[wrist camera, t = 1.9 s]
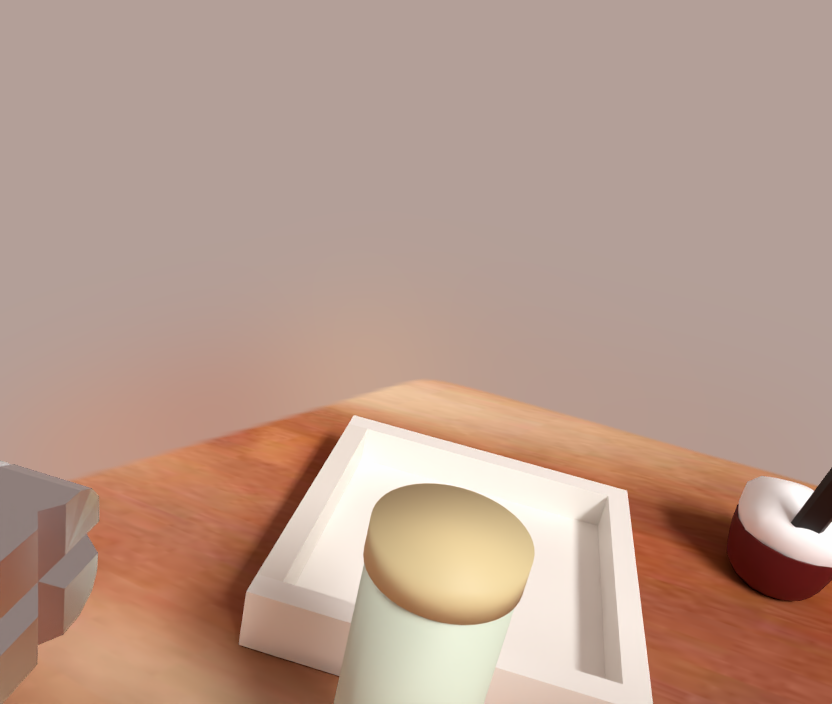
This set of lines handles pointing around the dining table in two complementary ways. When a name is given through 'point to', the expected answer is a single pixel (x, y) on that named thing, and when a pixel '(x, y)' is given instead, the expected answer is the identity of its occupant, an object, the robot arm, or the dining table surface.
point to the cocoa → (783, 537)
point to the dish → (543, 595)
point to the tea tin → (433, 597)
